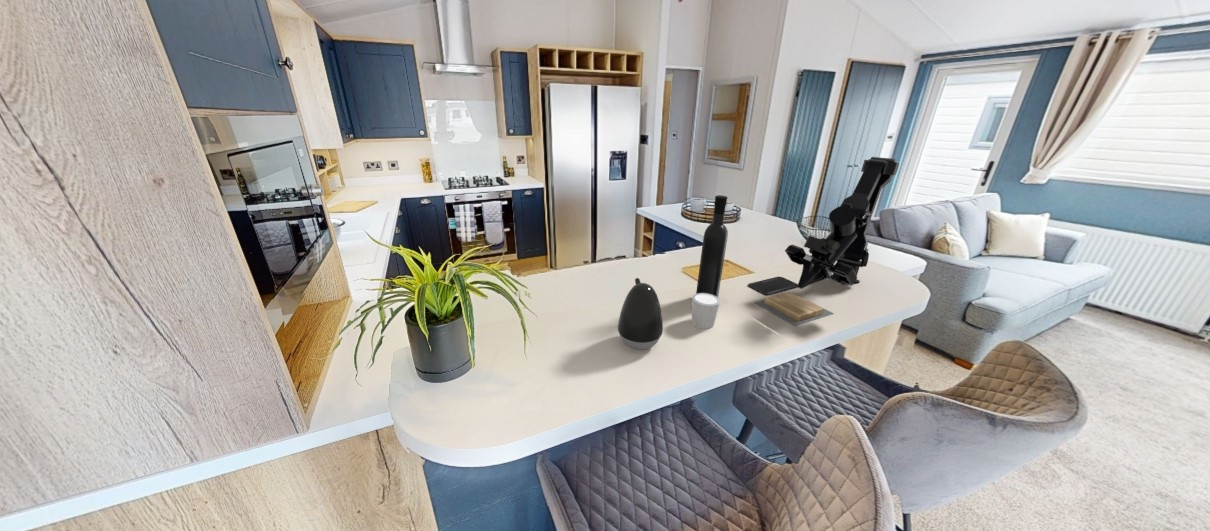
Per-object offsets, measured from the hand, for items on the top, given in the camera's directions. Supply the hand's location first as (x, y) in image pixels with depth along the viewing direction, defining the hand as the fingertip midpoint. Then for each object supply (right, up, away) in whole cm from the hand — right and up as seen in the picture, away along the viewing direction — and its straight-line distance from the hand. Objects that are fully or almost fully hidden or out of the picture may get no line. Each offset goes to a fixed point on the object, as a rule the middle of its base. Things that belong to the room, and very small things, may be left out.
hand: (799, 287), depth 104 cm
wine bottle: (-24, -4, +6) cm, 25 cm away
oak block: (+4, -4, +4) cm, 7 cm away
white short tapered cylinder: (-28, -9, -6) cm, 30 cm away
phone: (0, -1, +16) cm, 16 cm away
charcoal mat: (0, -6, +2) cm, 7 cm away
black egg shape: (-45, -12, -15) cm, 49 cm away
